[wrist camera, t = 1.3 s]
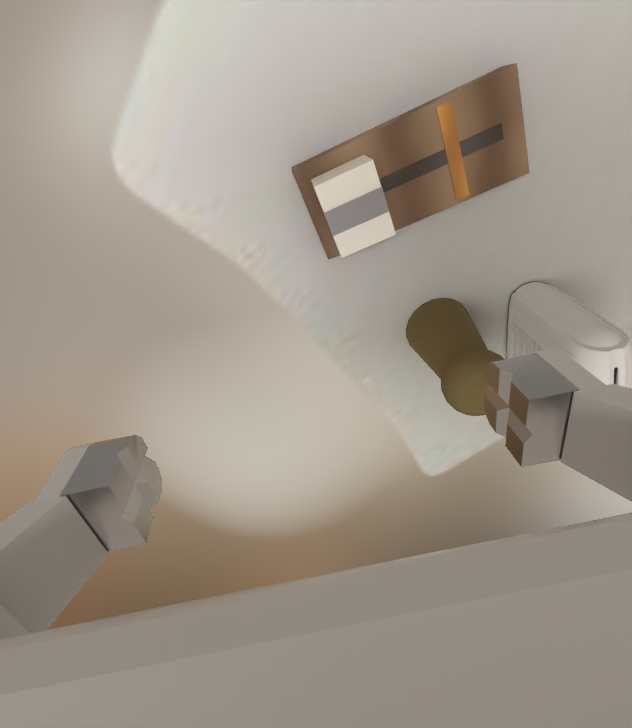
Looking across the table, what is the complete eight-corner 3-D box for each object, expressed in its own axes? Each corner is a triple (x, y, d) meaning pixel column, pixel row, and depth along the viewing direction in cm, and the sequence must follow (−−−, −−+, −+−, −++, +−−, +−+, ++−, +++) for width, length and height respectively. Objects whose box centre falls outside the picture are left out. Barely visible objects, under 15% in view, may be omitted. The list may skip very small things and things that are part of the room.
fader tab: (363, 154, 28) (373, 159, 25) (385, 222, 30) (396, 235, 27) (310, 179, 29) (313, 187, 25) (336, 244, 31) (342, 258, 28)
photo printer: (544, 367, 42) (632, 453, 31) (503, 377, 42) (576, 464, 32) (553, 275, 36) (662, 340, 26) (505, 286, 37) (594, 355, 26)
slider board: (502, 66, 28) (517, 63, 26) (516, 169, 31) (530, 172, 30) (291, 167, 30) (292, 170, 28) (326, 252, 34) (328, 260, 32)
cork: (409, 299, 37) (452, 362, 27) (474, 296, 37) (538, 358, 28) (402, 356, 40) (439, 430, 30) (462, 353, 40) (516, 426, 31)
